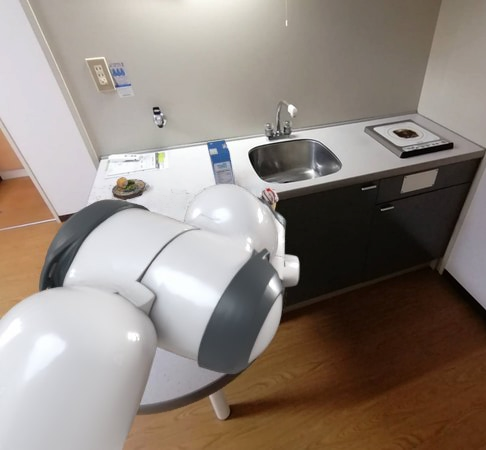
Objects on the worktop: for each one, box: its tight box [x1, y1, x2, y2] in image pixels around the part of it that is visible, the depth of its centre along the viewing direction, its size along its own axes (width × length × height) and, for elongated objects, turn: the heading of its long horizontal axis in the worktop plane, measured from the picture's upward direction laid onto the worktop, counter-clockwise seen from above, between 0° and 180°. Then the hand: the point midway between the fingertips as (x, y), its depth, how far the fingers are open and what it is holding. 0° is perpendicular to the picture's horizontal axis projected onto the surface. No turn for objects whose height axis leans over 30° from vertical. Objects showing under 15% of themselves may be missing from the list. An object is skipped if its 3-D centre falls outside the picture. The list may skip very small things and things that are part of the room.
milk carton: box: [206, 139, 236, 185], centre depth 109 cm, size 10×6×20 cm, turn 20°
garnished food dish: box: [111, 176, 146, 200], centre depth 117 cm, size 12×12×8 cm
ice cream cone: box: [259, 187, 279, 211], centre depth 98 cm, size 6×6×15 cm
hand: (180, 271), depth 77 cm, fingers open, 8 cm apart
